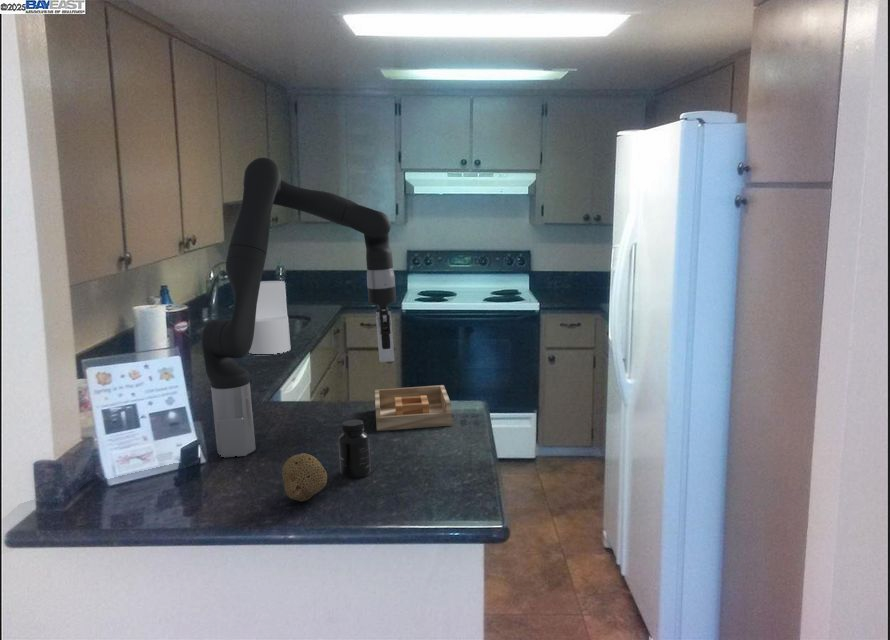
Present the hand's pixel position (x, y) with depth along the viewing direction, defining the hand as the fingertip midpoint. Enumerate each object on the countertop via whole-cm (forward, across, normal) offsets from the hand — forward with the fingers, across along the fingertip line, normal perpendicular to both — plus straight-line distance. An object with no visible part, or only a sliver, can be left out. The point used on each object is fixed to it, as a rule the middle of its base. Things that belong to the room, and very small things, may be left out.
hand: (385, 346), depth 207 cm
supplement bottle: (+19, -42, +11) cm, 47 cm away
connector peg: (+4, 0, 0) cm, 4 cm away
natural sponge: (+19, -54, +21) cm, 61 cm away
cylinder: (+22, +108, +43) cm, 118 cm away
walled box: (+20, -2, -6) cm, 21 cm away
